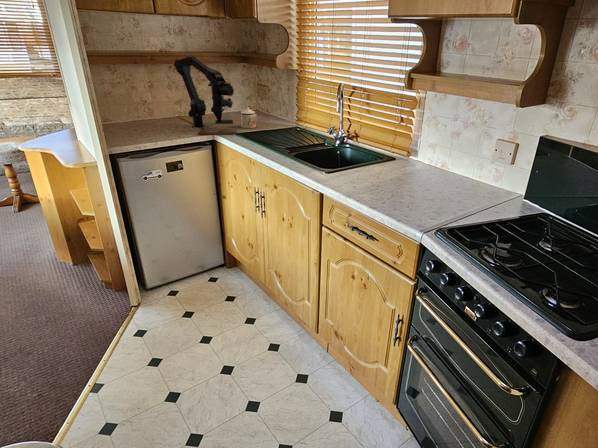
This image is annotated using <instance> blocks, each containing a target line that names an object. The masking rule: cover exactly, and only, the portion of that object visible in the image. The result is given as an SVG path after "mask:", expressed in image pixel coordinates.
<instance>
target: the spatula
mask: <svg viewBox="0 0 598 448" xmlns="http://www.w3.org/2000/svg"><path fill="white" fill-rule="evenodd" d="M232 124H234V119H221V122H218V120H217V119H215V121H204V122H203V125H204V126H209V125H210V126H212V125H213V126H214V125H232Z"/></svg>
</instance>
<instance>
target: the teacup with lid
mask: <svg viewBox="0 0 598 448" xmlns="http://www.w3.org/2000/svg"><path fill="white" fill-rule="evenodd" d="M257 121H258V114H256V111H255V110H252V109H250V107H246V108H245V109H243V110H241V111H240V122H241V128H243V129H255V128H256V127H257Z"/></svg>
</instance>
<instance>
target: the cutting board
mask: <svg viewBox="0 0 598 448" xmlns="http://www.w3.org/2000/svg"><path fill="white" fill-rule="evenodd" d="M236 132H237V129H236V128H200V129H199V131H198V132H197V135H198V136H225V135H226V136H227V135H228V136H229V135H231V136H233V135H235V134H236Z"/></svg>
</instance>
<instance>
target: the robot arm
mask: <svg viewBox="0 0 598 448" xmlns="http://www.w3.org/2000/svg"><path fill="white" fill-rule="evenodd" d="M173 66H174V68H175V70H176V72H177V73H178V74H179V75H180V76H181V79H182V80H183V83H184V86H185V89H186V91H187V94H188V97H189V99H190V104H189V107H190V109H189V111H188V113H187V114H188V116H189V117H190V118H192V125H191V126H192V128H204V126H205V125H203V123H204V122H203V120H204V119H203V116H205V115H206V112H207V105H206V103H205V100H204V99H201V98H200V97H199V94H198V92H197V88H196V86H195V84H194V81H193V78H192V76H191V69H192V67H193V68H194V69H196V70H197V71H199V72H200V73H202V74H203V75H204V77H205V78H206V79H207V80H208V82H209V83H208V85H207V86H208V87H210V88H211V100H212V106H211V107H210V112H211V113H213V114H214V116H215V118H216V120H218V122H221V120H222V118H223V112H224V111H225V108H226V107H227V108H229V109H232V107H233V104H234V101H232V99H231V98H230V97H232V96H233V95H234V91H235V89H234V88H233V86H232V85H231V83H230V82H227V81H226V79H225V78H224V76H223V74H222V73H221V71H218V70H217V69H214V68H211V67H209V66H208V65H206V64H205V63H203V62H202V61H201V60H199V59H198V58H197V57H196V56H194V55H193V56H192V55H191V56H187V57H184V58H178V59H175V60H174V63H173ZM224 96H225V97H227V96H228V98H224Z"/></svg>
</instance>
